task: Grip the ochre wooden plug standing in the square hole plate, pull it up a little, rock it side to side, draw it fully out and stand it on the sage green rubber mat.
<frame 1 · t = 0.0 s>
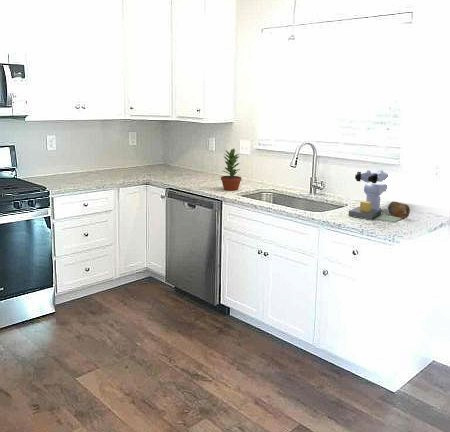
hand: (362, 177, 293), 22 cm above the worktop, tool horizontal, fingers open, 7 cm apart
plug: (365, 208, 297), in the square hole plate
mat: (388, 219, 290), on the worktop
tin: (398, 217, 296), on the worktop
square hole plate: (364, 215, 297), on the worktop
potted plant: (230, 189, 366), on the worktop
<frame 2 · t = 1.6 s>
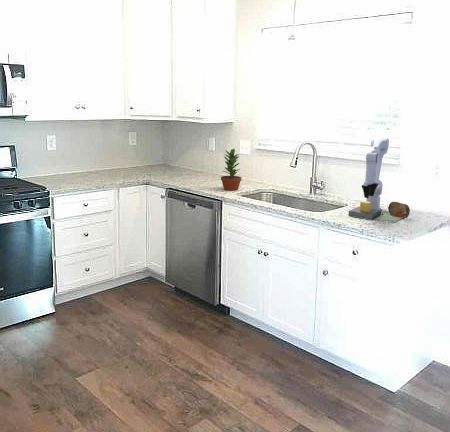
hand: (368, 196, 298), 10 cm above the worktop, tool pointing down, fingers open, 7 cm apart
nothing on the worktop moved.
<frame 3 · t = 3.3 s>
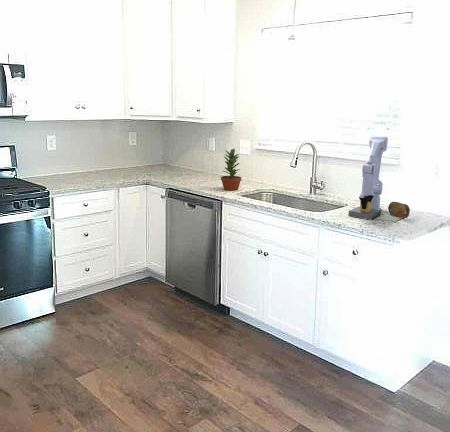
hand: (365, 208, 296), 4 cm above the worktop, tool pointing down, fingers closed on plug, 4 cm apart
plug: (365, 208, 297), in the square hole plate, touching gripper
everything else where it was.
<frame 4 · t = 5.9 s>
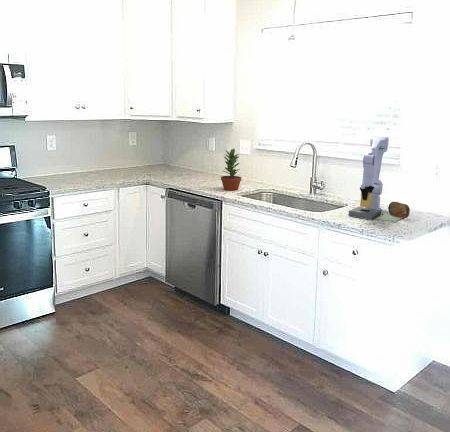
hand: (366, 199, 295), 10 cm above the worktop, tool pointing down, fingers closed on plug, 4 cm apart
plug: (366, 199, 295), point 9 cm above the worktop, touching gripper
everything else where it was.
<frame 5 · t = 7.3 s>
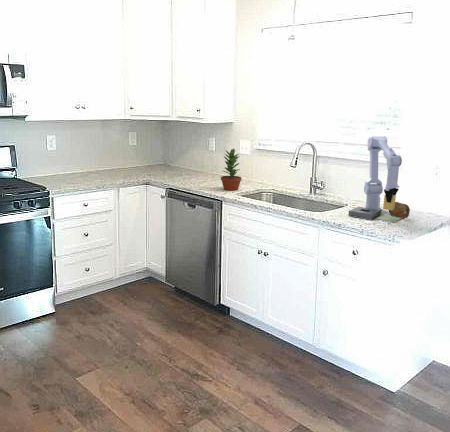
hand: (390, 201, 288), 10 cm above the worktop, tool pointing down, fingers closed on plug, 4 cm apart
plug: (389, 202, 288), point 10 cm above the worktop, touching gripper
everything else where it was.
when the fingers open (6 cm above the worktop, at t = 8.4 s): plug stays where it is, resting on mat.
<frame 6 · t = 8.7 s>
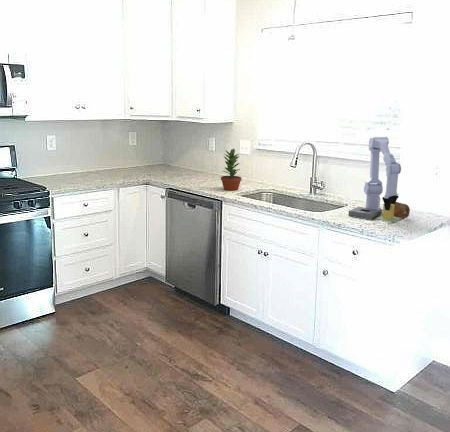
hand: (389, 209, 289), 6 cm above the worktop, tool pointing down, fingers open, 6 cm apart
plug: (388, 211, 290), on the mat
everything else where it was.
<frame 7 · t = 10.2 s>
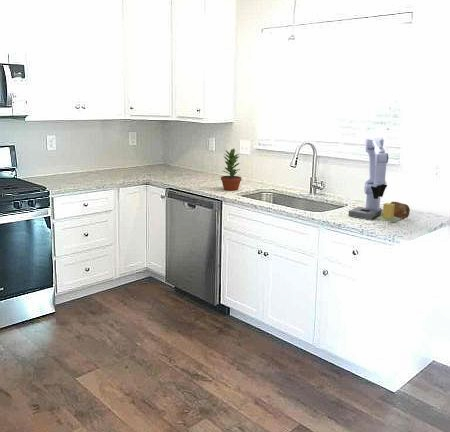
hand: (378, 197, 296), 10 cm above the worktop, tool pointing down, fingers open, 7 cm apart
nothing on the worktop moved.
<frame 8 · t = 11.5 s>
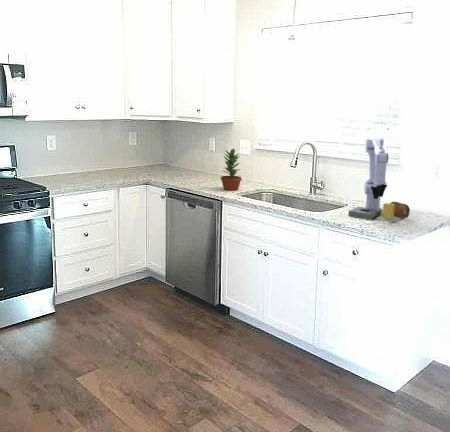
hand: (378, 197, 296), 10 cm above the worktop, tool pointing down, fingers open, 7 cm apart
nothing on the worktop moved.
at the end: plug inside the target area on the mat (0.4 cm from its centre), point 4.5 cm above the mat's base; plug tilted 0°; the gripper is holding nothing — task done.
